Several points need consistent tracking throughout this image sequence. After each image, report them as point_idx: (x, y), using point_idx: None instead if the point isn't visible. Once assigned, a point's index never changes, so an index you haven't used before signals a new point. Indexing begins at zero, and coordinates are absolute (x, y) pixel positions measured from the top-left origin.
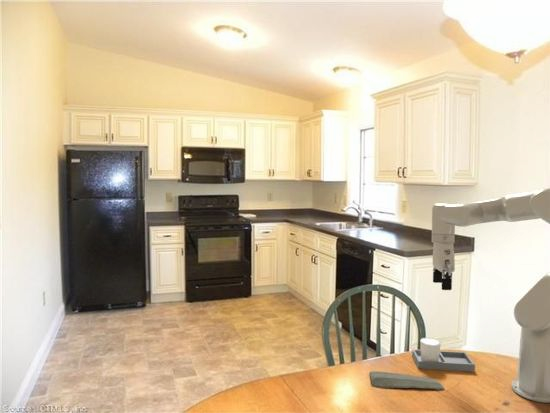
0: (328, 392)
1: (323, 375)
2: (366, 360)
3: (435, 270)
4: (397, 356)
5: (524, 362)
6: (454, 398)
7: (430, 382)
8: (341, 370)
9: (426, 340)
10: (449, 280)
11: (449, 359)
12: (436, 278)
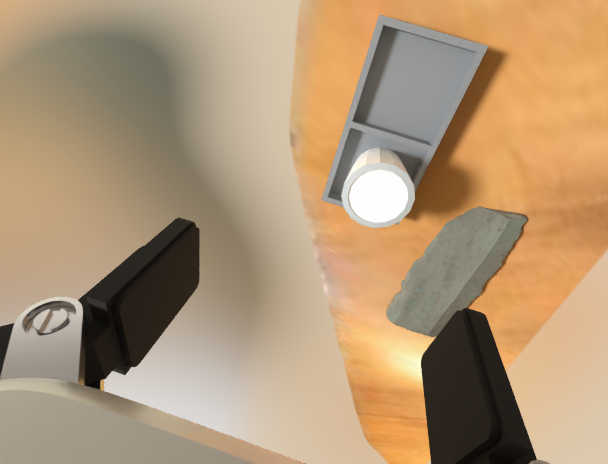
0: None
1: (372, 375)
2: (330, 296)
3: (100, 376)
4: (321, 228)
5: None
6: (576, 216)
7: (497, 244)
8: (361, 348)
9: (364, 205)
10: (529, 455)
11: (388, 102)
12: (176, 296)
